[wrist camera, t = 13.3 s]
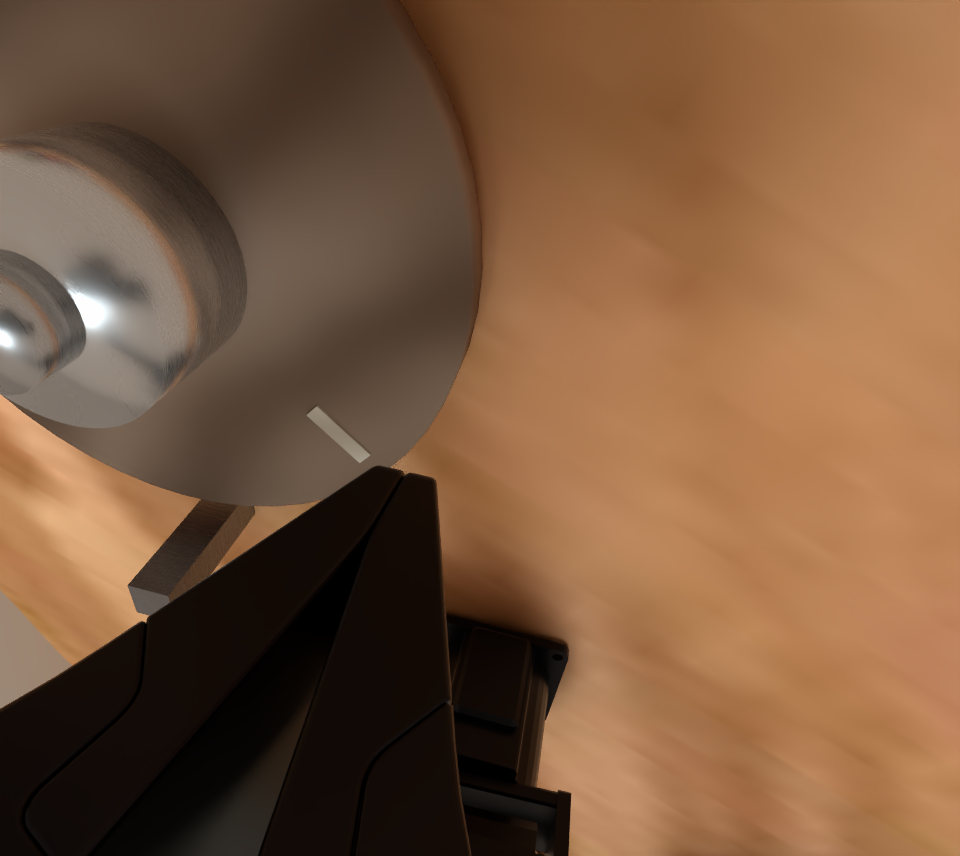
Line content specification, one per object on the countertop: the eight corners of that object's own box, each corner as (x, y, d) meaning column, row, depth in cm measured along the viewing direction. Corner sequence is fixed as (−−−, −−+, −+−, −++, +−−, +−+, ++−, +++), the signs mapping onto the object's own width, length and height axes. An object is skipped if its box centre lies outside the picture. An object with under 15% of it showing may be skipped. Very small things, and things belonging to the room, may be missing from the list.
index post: (254, 514, 28) (175, 622, 23) (222, 506, 28) (136, 611, 23) (250, 488, 27) (167, 596, 22) (217, 480, 27) (127, 585, 22)
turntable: (627, 285, 17) (625, 375, 13) (252, 547, 27) (187, 642, 23) (-46, -568, 11) (-450, -899, 7) (-201, 192, 21) (-396, 239, 17)
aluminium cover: (292, 271, 17) (175, 367, 13) (178, 394, 21) (56, 501, 16) (75, 56, 15) (-156, 83, 11) (-10, 235, 19) (-208, 310, 14)
